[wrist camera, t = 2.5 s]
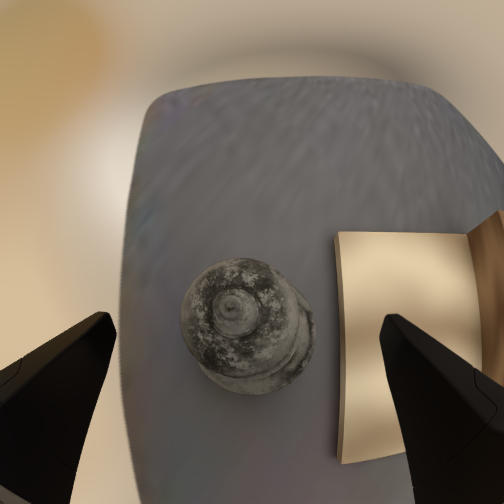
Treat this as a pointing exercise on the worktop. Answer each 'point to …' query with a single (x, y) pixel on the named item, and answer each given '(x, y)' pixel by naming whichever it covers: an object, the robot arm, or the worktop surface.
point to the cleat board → (412, 317)
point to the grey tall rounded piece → (247, 326)
